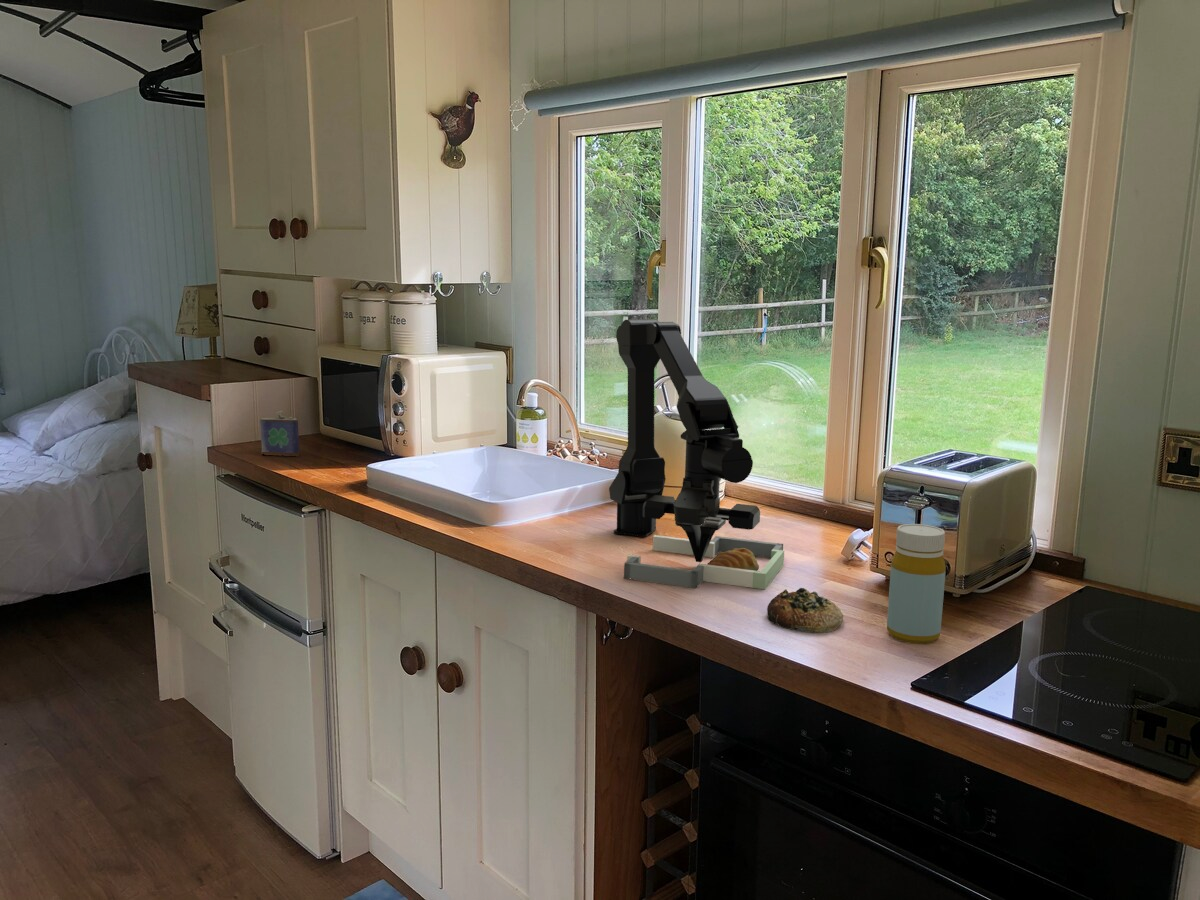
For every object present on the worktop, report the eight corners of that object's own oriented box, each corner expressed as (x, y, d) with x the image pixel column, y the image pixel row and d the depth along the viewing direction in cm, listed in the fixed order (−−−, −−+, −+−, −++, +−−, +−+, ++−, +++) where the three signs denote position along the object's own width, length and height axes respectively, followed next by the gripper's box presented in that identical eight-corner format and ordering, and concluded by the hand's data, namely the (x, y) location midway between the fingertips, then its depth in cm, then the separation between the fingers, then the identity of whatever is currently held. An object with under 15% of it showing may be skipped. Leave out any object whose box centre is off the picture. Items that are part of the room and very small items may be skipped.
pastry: (726, 585, 156) (727, 562, 156) (693, 576, 161) (694, 553, 160) (761, 573, 163) (762, 550, 162) (729, 564, 167) (729, 542, 167)
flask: (260, 456, 253) (258, 411, 251) (265, 453, 256) (263, 409, 254) (297, 457, 252) (295, 412, 250) (302, 455, 255) (300, 410, 253)
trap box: (618, 577, 159) (618, 562, 158) (661, 543, 179) (662, 529, 178) (759, 597, 150) (759, 581, 150) (788, 558, 170) (789, 544, 170)
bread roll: (750, 611, 144) (757, 578, 143) (813, 612, 149) (819, 580, 148) (793, 641, 134) (800, 606, 133) (859, 640, 139) (866, 607, 138)
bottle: (878, 626, 139) (886, 523, 136) (927, 626, 139) (935, 522, 136) (897, 645, 132) (905, 537, 129) (948, 644, 132) (957, 536, 130)
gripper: (632, 474, 158) (630, 567, 161) (747, 485, 151) (742, 583, 154) (654, 461, 168) (652, 550, 171) (762, 472, 161) (758, 563, 164)
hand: (699, 561), depth 165 cm, fingers closed
